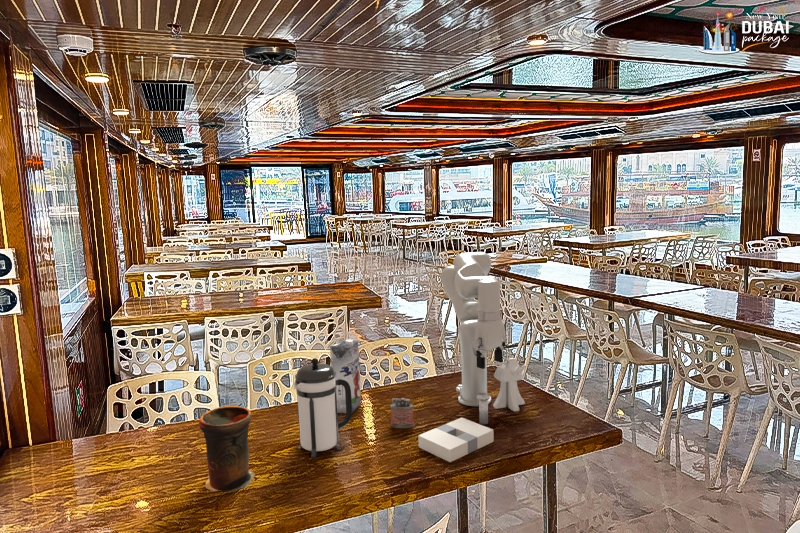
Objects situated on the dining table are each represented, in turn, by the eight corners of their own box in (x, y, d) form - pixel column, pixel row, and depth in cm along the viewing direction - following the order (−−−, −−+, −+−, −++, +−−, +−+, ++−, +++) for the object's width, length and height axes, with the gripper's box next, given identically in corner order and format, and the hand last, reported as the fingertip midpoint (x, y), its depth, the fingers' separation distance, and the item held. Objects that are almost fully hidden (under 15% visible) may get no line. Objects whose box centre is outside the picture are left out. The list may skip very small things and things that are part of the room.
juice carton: (330, 413, 211) (327, 343, 208) (341, 403, 221) (338, 335, 217) (353, 415, 209) (349, 344, 205) (363, 405, 219) (360, 336, 215)
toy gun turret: (484, 402, 217) (483, 356, 215) (515, 397, 221) (515, 352, 219) (498, 414, 206) (498, 365, 204) (531, 408, 210) (531, 361, 207)
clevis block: (450, 462, 171) (449, 449, 171) (418, 447, 182) (418, 435, 181) (493, 441, 184) (493, 429, 184) (461, 428, 195) (461, 417, 194)
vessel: (236, 462, 176) (232, 400, 173) (265, 477, 167) (261, 412, 164) (193, 482, 165) (188, 416, 162) (222, 499, 156) (217, 430, 153)
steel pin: (474, 422, 199) (474, 395, 198) (483, 418, 202) (482, 391, 201) (484, 426, 196) (484, 398, 195) (492, 422, 199) (492, 395, 197)
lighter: (414, 424, 200) (413, 396, 198) (413, 428, 197) (412, 400, 195) (391, 423, 201) (390, 396, 199) (390, 427, 197) (389, 400, 196)
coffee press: (338, 461, 175) (333, 366, 170) (288, 457, 178) (283, 364, 174) (353, 436, 191) (349, 350, 187) (308, 434, 195) (303, 348, 190)
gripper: (496, 310, 202) (496, 357, 205) (464, 318, 191) (465, 368, 193) (513, 313, 197) (513, 361, 199) (481, 321, 185) (482, 372, 188)
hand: (489, 364), depth 196 cm, fingers open, 9 cm apart
